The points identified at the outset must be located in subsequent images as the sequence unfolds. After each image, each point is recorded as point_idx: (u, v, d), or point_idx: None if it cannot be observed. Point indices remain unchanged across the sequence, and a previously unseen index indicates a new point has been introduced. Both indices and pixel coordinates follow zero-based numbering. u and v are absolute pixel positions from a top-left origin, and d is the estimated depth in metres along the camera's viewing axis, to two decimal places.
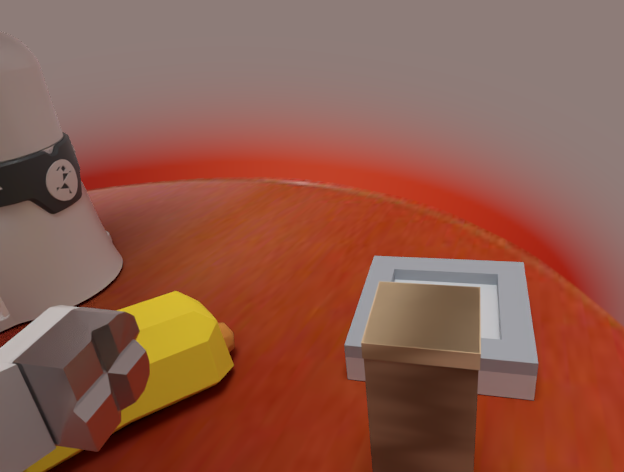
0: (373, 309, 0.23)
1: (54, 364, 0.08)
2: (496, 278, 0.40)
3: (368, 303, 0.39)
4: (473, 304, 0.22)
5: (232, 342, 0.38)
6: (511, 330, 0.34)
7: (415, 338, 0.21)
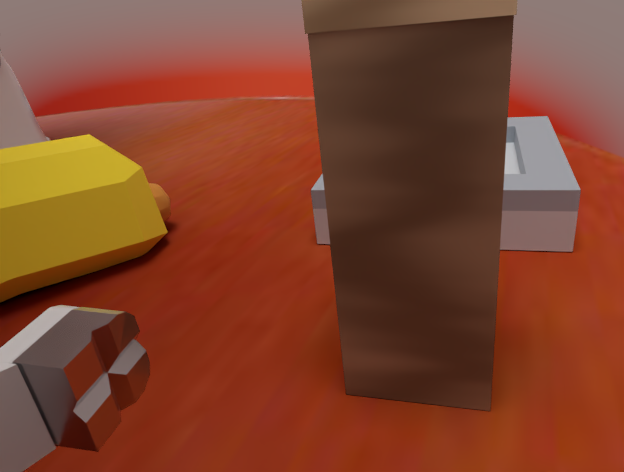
0: None
1: (54, 363, 0.08)
2: (513, 132, 0.31)
3: None
4: None
5: (166, 205, 0.29)
6: (538, 166, 0.25)
7: None
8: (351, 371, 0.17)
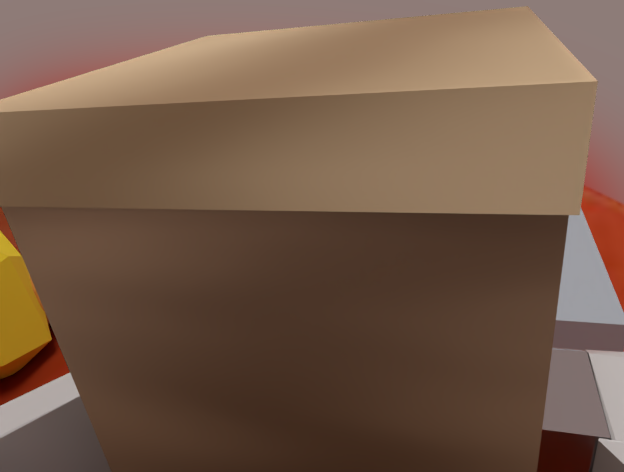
0: (129, 61, 0.06)
1: None
2: None
3: None
4: (510, 21, 0.06)
5: None
6: None
7: (223, 83, 0.04)
8: None
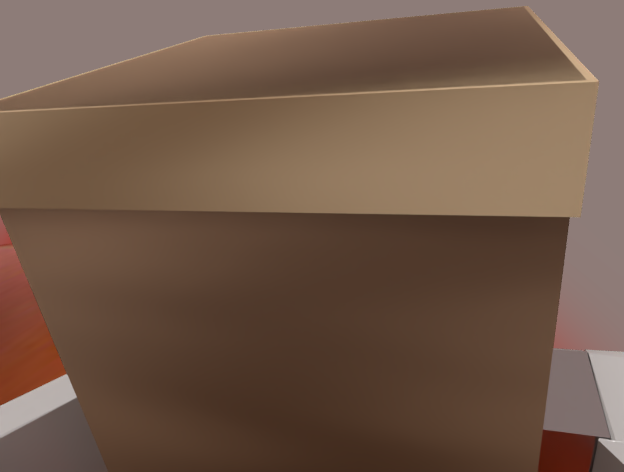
0: (127, 61, 0.06)
1: None
2: None
3: None
4: (509, 19, 0.06)
5: None
6: None
7: (220, 84, 0.04)
8: None
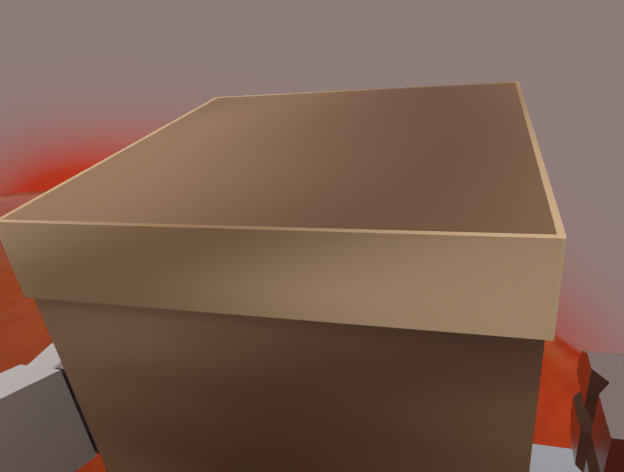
0: (146, 140, 0.06)
1: None
2: None
3: None
4: (500, 107, 0.06)
5: None
6: None
7: (237, 197, 0.04)
8: None
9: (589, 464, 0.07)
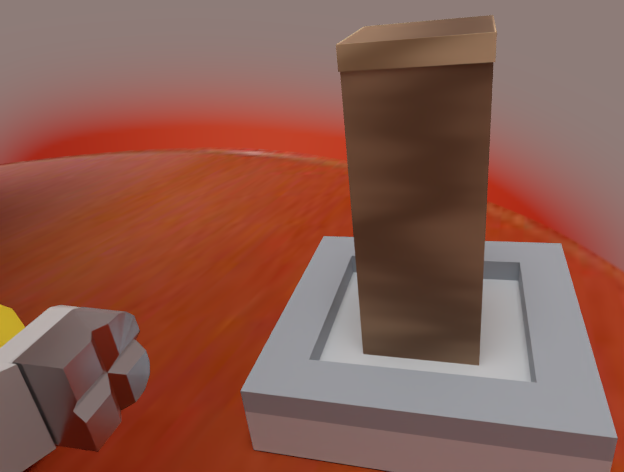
0: (355, 34, 0.18)
1: (54, 364, 0.08)
2: (517, 269, 0.24)
3: (299, 312, 0.23)
4: (485, 20, 0.17)
5: None
6: (552, 364, 0.18)
7: (408, 36, 0.16)
8: (368, 334, 0.21)
9: None
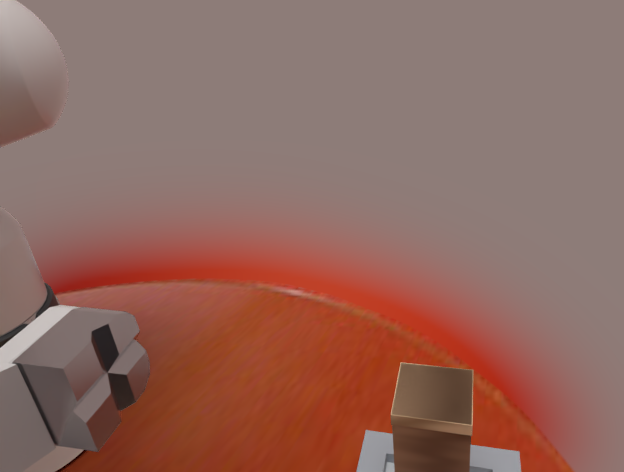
0: (397, 387, 0.32)
1: (54, 364, 0.08)
2: None
3: None
4: (468, 384, 0.32)
5: None
6: None
7: (428, 412, 0.30)
8: None
9: None
